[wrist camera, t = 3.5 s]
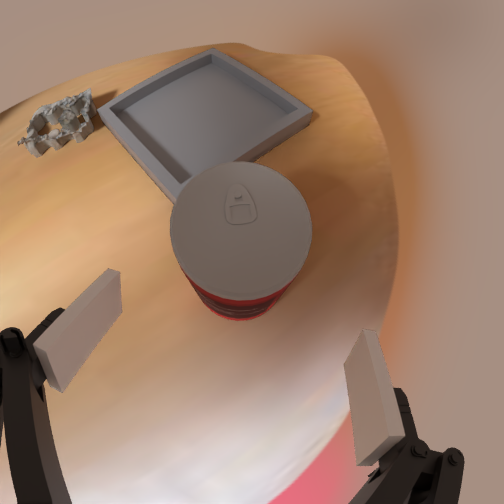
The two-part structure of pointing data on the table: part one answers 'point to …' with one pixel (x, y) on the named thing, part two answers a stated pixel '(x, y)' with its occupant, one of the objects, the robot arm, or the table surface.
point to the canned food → (240, 237)
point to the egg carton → (64, 115)
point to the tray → (201, 118)
